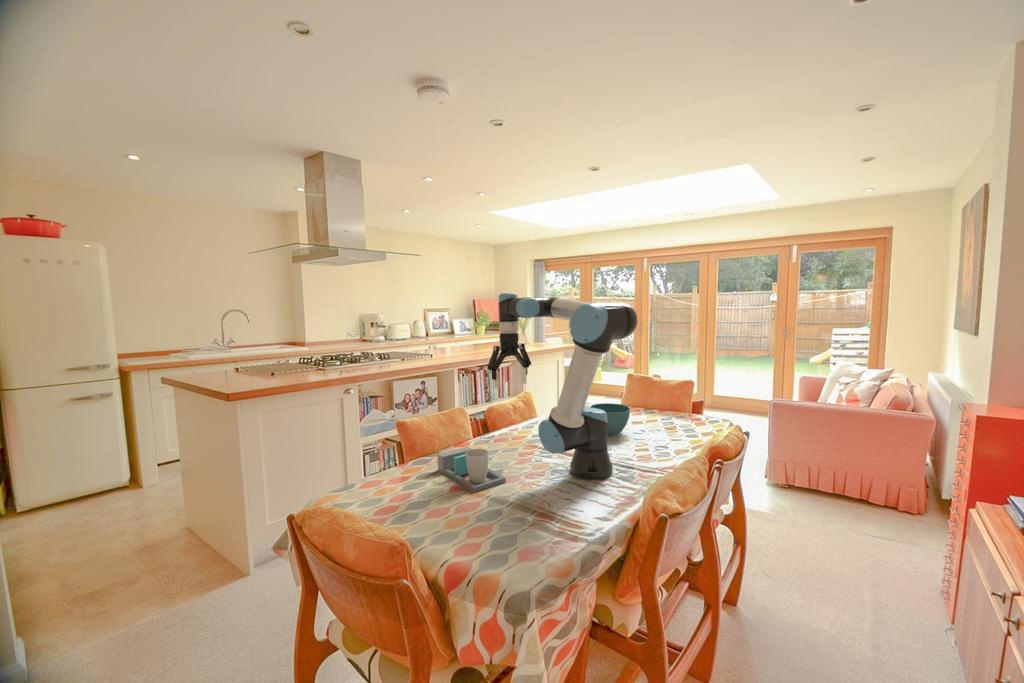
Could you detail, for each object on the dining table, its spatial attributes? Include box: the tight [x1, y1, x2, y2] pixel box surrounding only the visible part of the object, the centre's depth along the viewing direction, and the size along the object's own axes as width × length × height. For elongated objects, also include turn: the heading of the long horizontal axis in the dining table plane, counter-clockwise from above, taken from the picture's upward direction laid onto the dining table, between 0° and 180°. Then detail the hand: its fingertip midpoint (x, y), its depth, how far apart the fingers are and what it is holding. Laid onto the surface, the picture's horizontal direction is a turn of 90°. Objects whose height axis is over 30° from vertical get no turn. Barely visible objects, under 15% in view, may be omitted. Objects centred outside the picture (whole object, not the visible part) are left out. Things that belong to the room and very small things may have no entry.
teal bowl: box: [589, 402, 631, 437], centre depth 202 cm, size 18×18×12 cm
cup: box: [465, 448, 490, 484], centre depth 152 cm, size 8×8×10 cm
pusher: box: [454, 454, 468, 476], centre depth 160 cm, size 5×9×7 cm, turn 126°
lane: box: [437, 446, 507, 493], centre depth 157 cm, size 26×13×6 cm, turn 36°
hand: (510, 385), depth 174 cm, fingers open, 13 cm apart
